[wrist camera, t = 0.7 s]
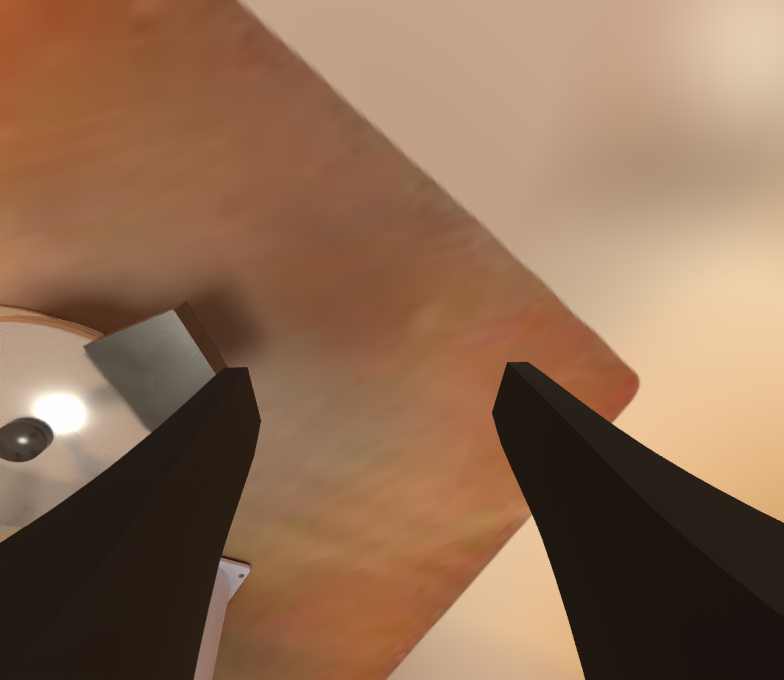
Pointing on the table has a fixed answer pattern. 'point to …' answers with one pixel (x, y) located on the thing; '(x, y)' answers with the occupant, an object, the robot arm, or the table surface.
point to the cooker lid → (88, 399)
